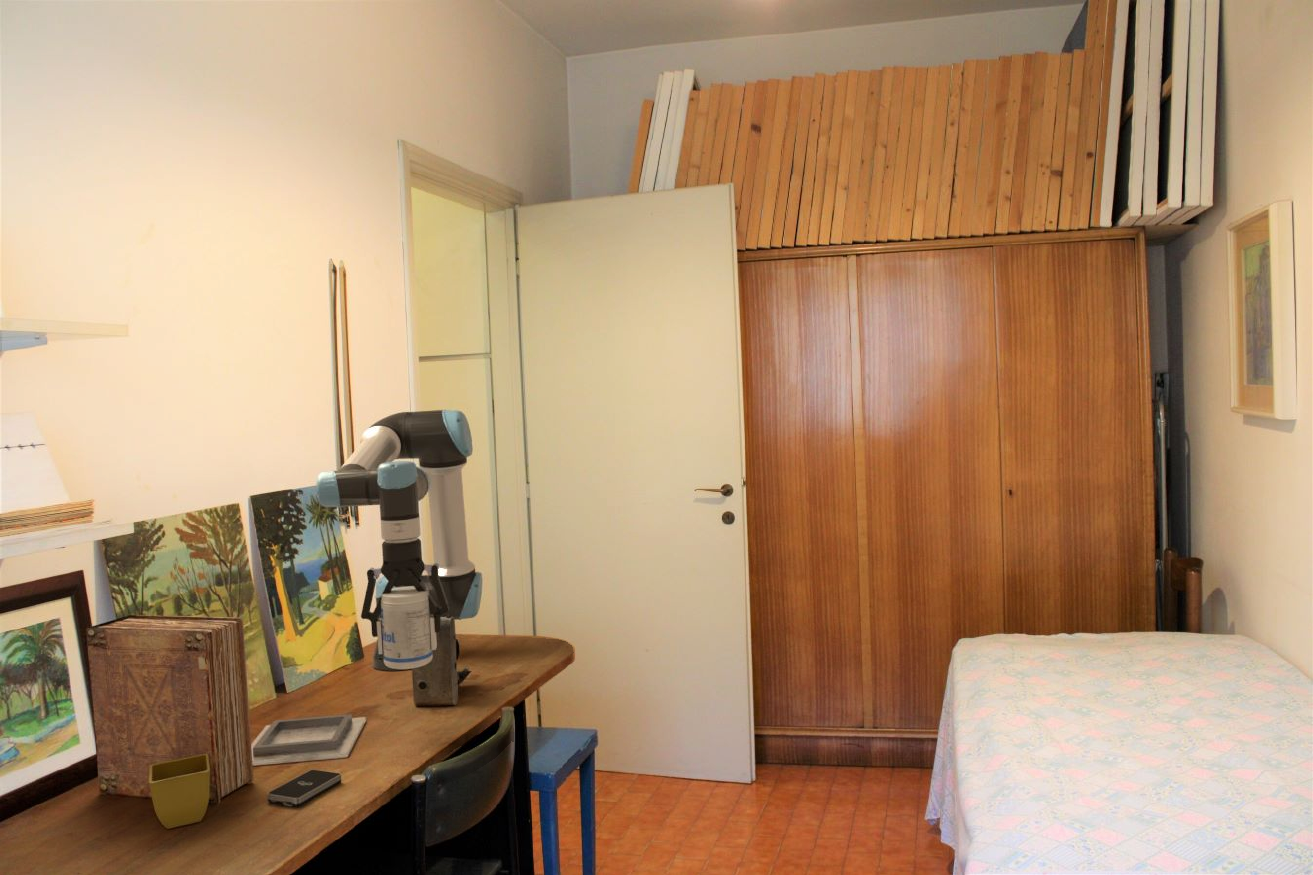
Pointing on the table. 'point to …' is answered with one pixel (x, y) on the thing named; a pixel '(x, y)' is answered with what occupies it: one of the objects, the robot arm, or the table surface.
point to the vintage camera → (440, 670)
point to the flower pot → (180, 790)
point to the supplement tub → (406, 628)
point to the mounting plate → (306, 739)
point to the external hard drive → (304, 788)
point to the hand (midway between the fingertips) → (408, 650)
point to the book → (169, 700)
